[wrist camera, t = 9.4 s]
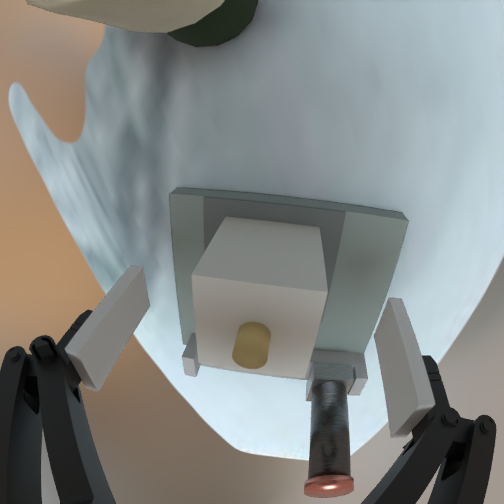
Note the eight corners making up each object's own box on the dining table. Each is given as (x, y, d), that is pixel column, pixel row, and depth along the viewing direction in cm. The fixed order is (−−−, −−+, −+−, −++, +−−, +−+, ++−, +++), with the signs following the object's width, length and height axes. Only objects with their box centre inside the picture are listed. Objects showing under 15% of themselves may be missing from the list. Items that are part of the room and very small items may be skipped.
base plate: (177, 187, 21) (150, 208, 17) (402, 212, 19) (423, 239, 15) (188, 338, 28) (173, 372, 24) (354, 358, 26) (359, 395, 22)
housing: (225, 216, 19) (179, 295, 12) (319, 227, 19) (330, 315, 11) (224, 292, 22) (190, 384, 15) (305, 302, 22) (303, 400, 14)
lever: (313, 361, 22) (309, 485, 13) (351, 363, 22) (360, 484, 13) (306, 384, 24) (299, 497, 15) (341, 386, 24) (345, 497, 14)
